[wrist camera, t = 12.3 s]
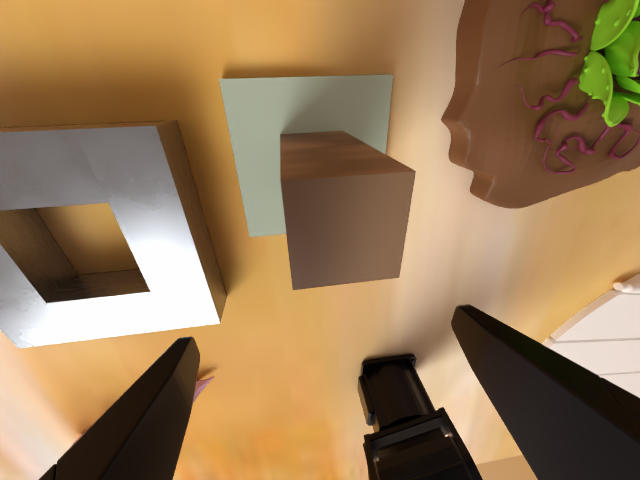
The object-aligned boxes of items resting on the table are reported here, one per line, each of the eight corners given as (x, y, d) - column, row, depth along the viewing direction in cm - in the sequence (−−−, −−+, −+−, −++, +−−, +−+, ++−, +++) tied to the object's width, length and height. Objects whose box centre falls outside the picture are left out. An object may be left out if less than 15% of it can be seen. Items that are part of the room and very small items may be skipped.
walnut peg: (343, 130, 16) (415, 171, 8) (342, 191, 18) (399, 277, 10) (280, 134, 16) (280, 181, 7) (286, 195, 18) (293, 290, 9)
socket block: (176, 120, 15) (155, 125, 13) (226, 296, 22) (220, 323, 20) (-96, 132, 14) (-183, 140, 11) (51, 316, 21) (18, 348, 18)
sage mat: (389, 75, 15) (393, 74, 15) (376, 222, 20) (378, 225, 20) (221, 79, 14) (218, 79, 14) (250, 233, 19) (249, 237, 19)
